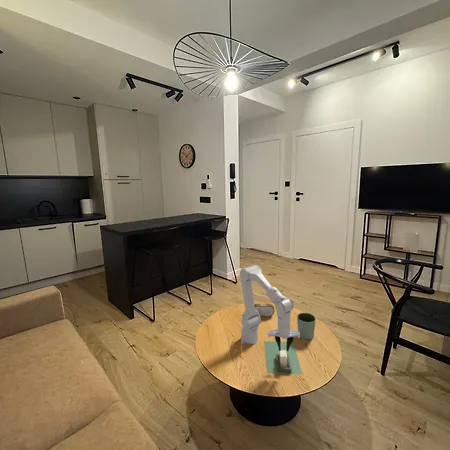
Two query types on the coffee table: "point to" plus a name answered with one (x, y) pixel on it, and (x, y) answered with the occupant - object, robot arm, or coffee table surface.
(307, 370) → the coffee table surface
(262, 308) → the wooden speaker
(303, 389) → the coffee table surface
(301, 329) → the grey-green cup
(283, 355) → the cream rectangular block
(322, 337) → the coffee table surface
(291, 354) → the board
